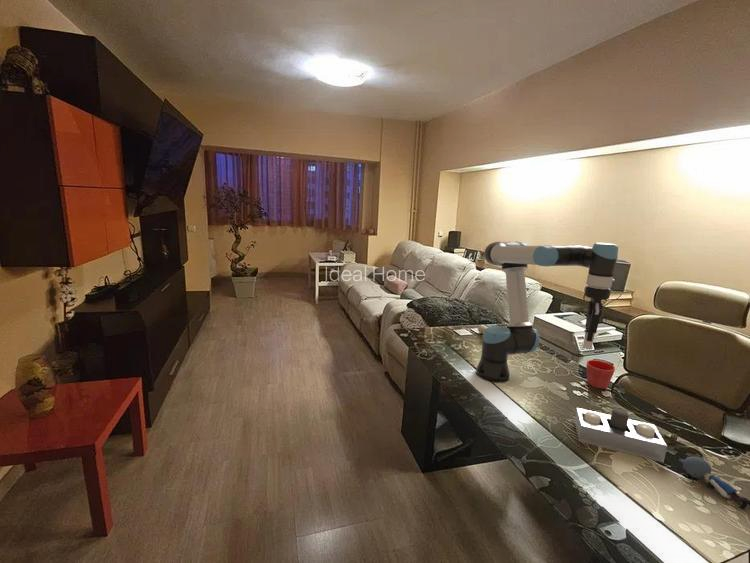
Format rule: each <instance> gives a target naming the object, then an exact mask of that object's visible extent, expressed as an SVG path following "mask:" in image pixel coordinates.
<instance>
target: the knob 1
mask: <svg viewBox="0 0 750 563" xmlns="http://www.w3.org/2000/svg"><path fill="white" fill-rule="evenodd" d="M600 420H601V417H600V416H599V415H598V414H596V413H593V412H586V413H585V417H584V422H588V423H592V424H596V425H600Z"/></svg>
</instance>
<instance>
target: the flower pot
mask: <svg viewBox="0 0 750 563" xmlns="http://www.w3.org/2000/svg"><path fill="white" fill-rule="evenodd" d="M615 371H616V368H615V366H614V365H612V364H611V363H608V362H605V361H602V360H599V359H597V360H596V359H592V360H591V359H590V360H587V361H586V377H587V379H586V380H587V383H588V384H589V385H590V386H592V387H594V388H598V389H608V387H609V385H610V382H611V380H612V378H613V376H614V374H615Z"/></svg>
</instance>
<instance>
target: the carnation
mask: <svg viewBox="0 0 750 563" xmlns="http://www.w3.org/2000/svg"><path fill="white" fill-rule="evenodd" d="M487 328H488V327H486V326H484V325H480V326H478V327H477V331H478V333H480V332H481V333H480V334H484V331H485V329H487Z"/></svg>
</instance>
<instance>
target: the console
mask: <svg viewBox="0 0 750 563" xmlns="http://www.w3.org/2000/svg"><path fill="white" fill-rule="evenodd" d="M586 412H593V413H596V414H598V415H599V416H600V417H601V420H600V425H596V424H592V423H588V422H584V417H585V413H586ZM610 419H611V414H607V413H602V412H598V411H593V410H588V409H584V408H580V407H576V410H575V417H574V425H575V430H576V433H577V435H576V436H577V439H578V442H580V443H584V444H587V445H591V446H597V447H600V448H603V449H608V450H611V451H614V452H615V451H616V452H620V453H624V454H627V455H630V456H631V455H632V456H636V457H641V458H643V459H646V460H651V461H655V462H659V463H662V464H664V463H665V457H666V453H667V449H668V445H667V443H666V442H665V440H664V438H663V436H662V434H661V433H660V432H659V430H658V428H657V426H656V425H655V424H652V423H648V422H645V421H640V420H635V419H630V418H628V422H627V428H626V431H622V430H618V429H614V428H610V427H609V425H610ZM638 423H643V424H647V425H649V426H651V427H653V428H654V429H655V433H654V438H652V437H648V436H644V435H639V434H637V433H636V429H637V424H638Z"/></svg>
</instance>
